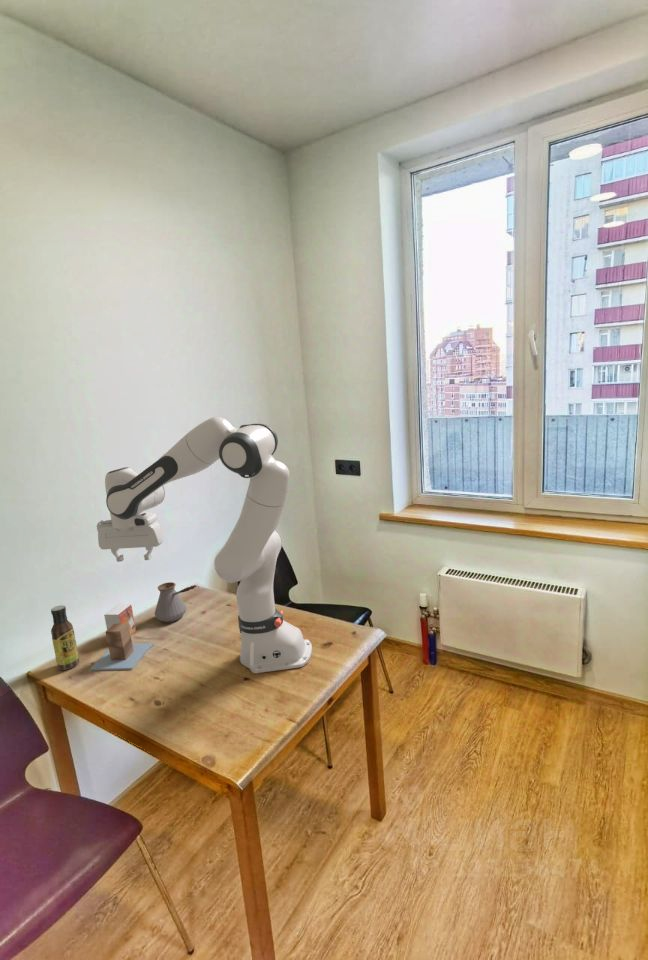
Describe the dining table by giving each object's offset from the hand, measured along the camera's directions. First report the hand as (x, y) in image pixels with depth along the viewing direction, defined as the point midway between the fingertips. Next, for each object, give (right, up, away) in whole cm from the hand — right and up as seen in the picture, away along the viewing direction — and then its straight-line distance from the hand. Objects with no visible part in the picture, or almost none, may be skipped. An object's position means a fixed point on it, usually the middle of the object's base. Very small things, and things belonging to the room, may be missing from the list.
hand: (134, 560), depth 151 cm
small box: (-10, -30, +16) cm, 35 cm away
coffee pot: (+8, -26, +24) cm, 37 cm away
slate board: (-5, -32, +2) cm, 32 cm away
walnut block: (-5, -31, +2) cm, 32 cm away
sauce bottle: (-21, -34, 0) cm, 40 cm away
